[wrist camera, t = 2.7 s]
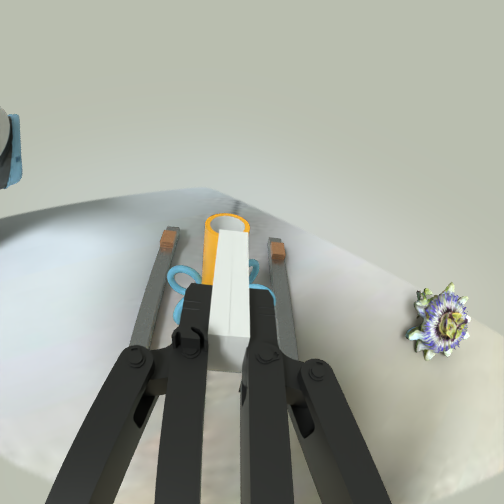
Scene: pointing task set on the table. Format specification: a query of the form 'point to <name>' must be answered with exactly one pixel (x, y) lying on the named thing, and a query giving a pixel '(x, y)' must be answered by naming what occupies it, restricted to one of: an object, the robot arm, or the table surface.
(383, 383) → the table surface
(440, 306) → the passion flower
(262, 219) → the table surface
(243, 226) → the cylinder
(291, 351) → the guide track
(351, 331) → the table surface
